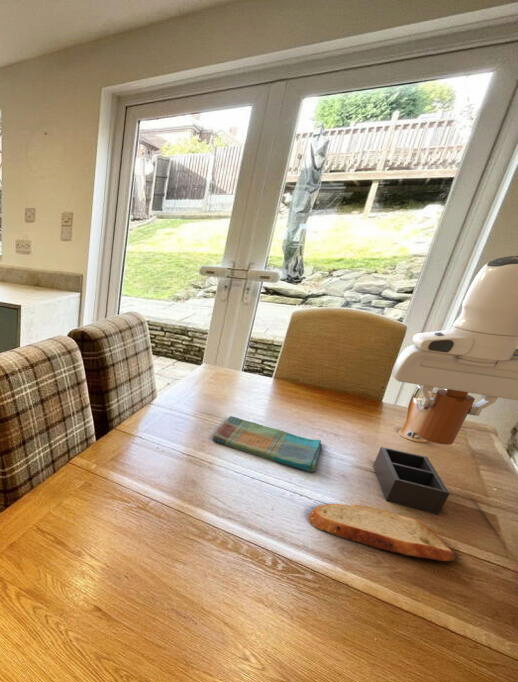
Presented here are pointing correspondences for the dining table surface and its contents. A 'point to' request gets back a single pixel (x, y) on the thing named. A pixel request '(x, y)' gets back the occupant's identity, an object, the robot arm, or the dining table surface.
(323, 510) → the bread slice
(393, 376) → the robot arm
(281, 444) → the dish towel
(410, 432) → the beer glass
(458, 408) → the spice bottle
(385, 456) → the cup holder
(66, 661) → the dining table surface
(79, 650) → the dining table surface
